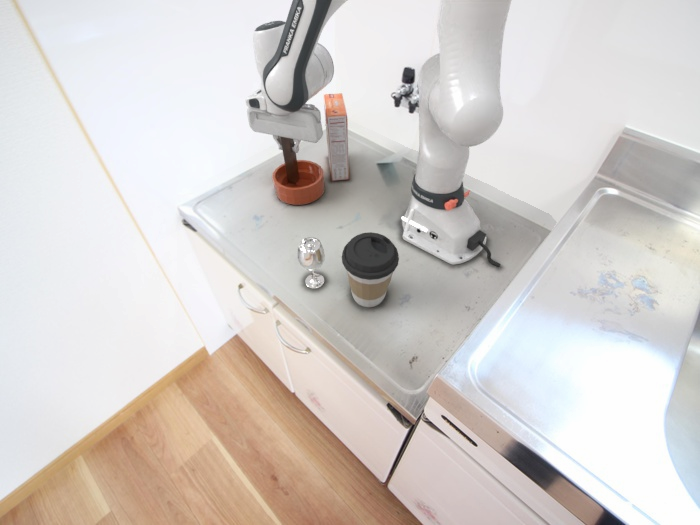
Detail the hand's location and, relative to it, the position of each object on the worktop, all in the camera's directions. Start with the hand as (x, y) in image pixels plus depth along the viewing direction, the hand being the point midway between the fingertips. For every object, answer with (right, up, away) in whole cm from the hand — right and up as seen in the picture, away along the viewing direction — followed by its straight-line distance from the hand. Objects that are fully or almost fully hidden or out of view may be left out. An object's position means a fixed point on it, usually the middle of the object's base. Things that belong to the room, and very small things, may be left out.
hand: (289, 150), depth 95 cm
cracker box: (+13, -1, +16) cm, 20 cm away
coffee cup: (+21, -39, -18) cm, 48 cm away
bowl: (+2, -10, +8) cm, 13 cm away
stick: (0, -7, +8) cm, 10 cm away
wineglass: (+9, -36, -15) cm, 40 cm away
